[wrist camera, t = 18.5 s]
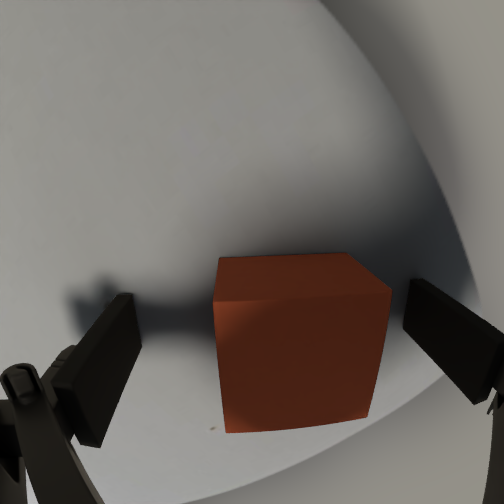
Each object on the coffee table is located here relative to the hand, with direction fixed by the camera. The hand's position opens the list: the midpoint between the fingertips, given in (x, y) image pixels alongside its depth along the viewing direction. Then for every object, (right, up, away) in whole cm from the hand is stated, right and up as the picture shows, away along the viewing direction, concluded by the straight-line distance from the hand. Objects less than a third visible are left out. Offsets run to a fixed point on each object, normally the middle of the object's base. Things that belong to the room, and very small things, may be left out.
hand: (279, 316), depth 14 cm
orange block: (0, 0, 0) cm, 0 cm away
